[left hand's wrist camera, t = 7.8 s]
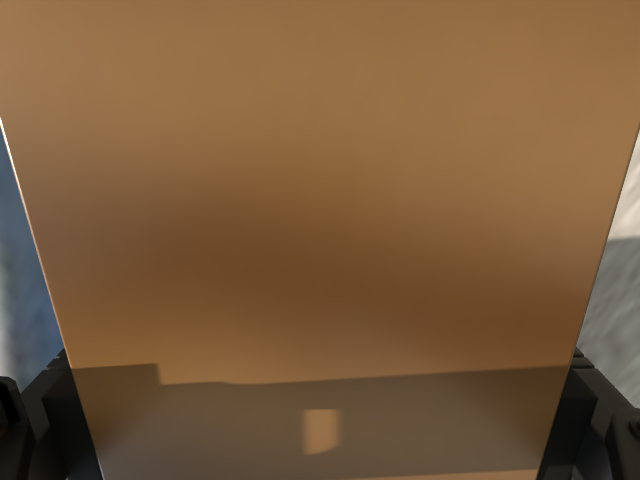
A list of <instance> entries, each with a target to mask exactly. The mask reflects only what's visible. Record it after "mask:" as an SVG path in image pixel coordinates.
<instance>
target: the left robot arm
mask: <svg viewBox="0 0 640 480" xmlns="http://www.w3.org/2000/svg"><path fill="white" fill-rule="evenodd" d="M572 476H573V477H574V479H575V480H640V409H639V408H634V407H633V406H632V405H631V404H630V403H629V402H628V400H627V399H626V398H625V397H624V396H623V395H622V394H621V393H620V392H619V391H618V390H617V389H616V388H615V387H614V386H613V385H612V384H611V383H610V382H609V381H608V380H607V379H606V378H605V376H604V375H603V374H602V373H601V372H600V371H599V370H598V369H595V368H594V365H593V364H592V363H591V362H590V361H589V360H588V359H587V358H584V355H583V353H582V352H581V351H580V350H579V349H578V348H577V347H575V351H574V354H573V357H572V361H571V364H570V368H569V371H568V374H567V378H566V381H565V385H564V388H563V391H562V395H561V398H560V401H559V405H558V408H557V412H556V415H555V418H554V422H553V425H552V429H551V432H550V435H549V439H548V442H547V446H546V449H545V452H544V456H543V459H542V463H541V466H540V469H539V473H538V476H537V480H571V479H572ZM0 480H103V478H102V474H101V471H100V467H99V464H98V460H97V457H96V454H95V450H94V447H93V443H92V440H91V436H90V433H89V429H88V426H87V423H86V419H85V416H84V412H83V409H82V405H81V402H80V398H79V395H78V392H77V388H76V385H75V381H74V378H73V374H72V371H71V367H70V364H69V361H68V357H67V354H66V350H65V348H64V349H63V350H62V351H61V352H60V353H59V354H58V355H57V356H56V359H53V360H52V361H51V362H50V363H49V364H48V365H47V367H46V369H45V370H43V371H42V372H41V373H40V374H39V375H38V376H37V377H36V378H35V379H34V380H33V381H32V382H31V383H30V384H29V385H28V386H27V388H26V389H25V390H24V391H23V392H22V393H21V394H20V393H19V390H18V387H17V384H16V381H14V380H13V379H11V378H9V377H3V376H0Z"/></svg>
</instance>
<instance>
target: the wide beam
mask: <svg viewBox="0 0 640 480" xmlns="http://www.w3.org/2000/svg"><path fill="white" fill-rule="evenodd" d="M0 127H1V130H2V134H3V137H4V140H5V144H6V147H7V151H8V154H9V158H10V161H11V165H12V168H13V171H14V175H15V178H16V182H17V185H18V189H19V192H20V195H21V199H22V202H23V206H24V209H25V213H26V216H27V220H28V223H29V226H30V230H31V233H32V237H33V240H34V244H35V247H36V251H37V254H38V257H39V261H40V264H41V268H42V271H43V275H44V278H45V281H46V285H47V288H48V292H49V295H50V299H51V302H52V306H53V309H54V312H55V316H56V319H57V323H58V326H59V330H60V333H61V337H62V340H63V343H64V347H65V350H66V354H67V357H68V361H69V364H70V367H71V371H72V374H73V378H74V381H75V385H76V388H77V392H78V395H79V398H80V402H81V405H82V409H83V412H84V416H85V419H86V423H87V426H88V429H89V433H90V436H91V440H92V443H93V447H94V450H95V454H96V457H97V460H98V464H99V467H100V471H101V474H102V478H103V480H537V476H538V473H539V469H540V466H541V463H542V459H543V456H544V452H545V449H546V446H547V442H548V439H549V435H550V432H551V429H552V425H553V422H554V418H555V415H556V412H557V408H558V405H559V401H560V398H561V395H562V391H563V388H564V385H565V381H566V378H567V374H568V371H569V368H570V364H571V361H572V357H573V354H574V351H575V347H576V344H577V340H578V337H579V334H580V330H581V327H582V323H583V320H584V317H585V313H586V310H587V306H588V303H589V300H590V296H591V293H592V289H593V286H594V283H595V279H596V276H597V272H598V269H599V266H600V262H601V259H602V255H603V252H604V249H605V245H606V242H607V238H608V235H609V232H610V228H611V225H612V221H613V218H614V215H615V211H616V208H617V204H618V201H619V198H620V194H621V191H622V187H623V184H624V181H625V177H626V174H627V170H628V167H629V164H630V160H631V157H632V153H633V150H634V147H635V143H636V140H637V136H638V133H639V130H640V0H0Z"/></svg>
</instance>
